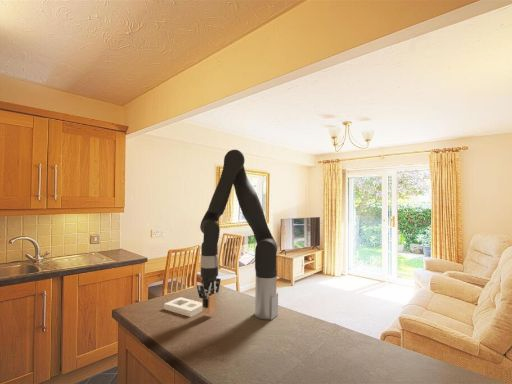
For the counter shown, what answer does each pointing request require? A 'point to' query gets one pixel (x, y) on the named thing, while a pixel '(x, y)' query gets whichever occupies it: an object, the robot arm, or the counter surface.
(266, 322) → the counter surface
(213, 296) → the block
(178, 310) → the power strip
